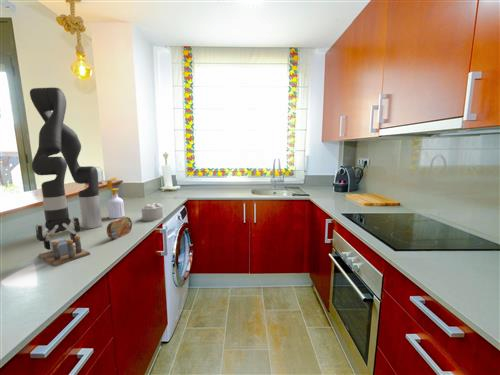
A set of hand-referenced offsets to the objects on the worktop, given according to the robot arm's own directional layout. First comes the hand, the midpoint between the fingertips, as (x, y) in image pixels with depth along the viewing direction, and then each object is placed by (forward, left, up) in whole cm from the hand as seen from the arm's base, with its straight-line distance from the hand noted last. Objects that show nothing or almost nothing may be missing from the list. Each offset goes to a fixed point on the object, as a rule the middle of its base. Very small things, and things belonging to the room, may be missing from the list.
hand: (61, 245), depth 102 cm
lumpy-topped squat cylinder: (-16, +54, -4) cm, 57 cm away
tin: (-1, +25, -4) cm, 25 cm away
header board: (+3, 0, -3) cm, 4 cm away
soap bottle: (-37, +43, -4) cm, 57 cm away
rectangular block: (0, 0, -3) cm, 3 cm away
